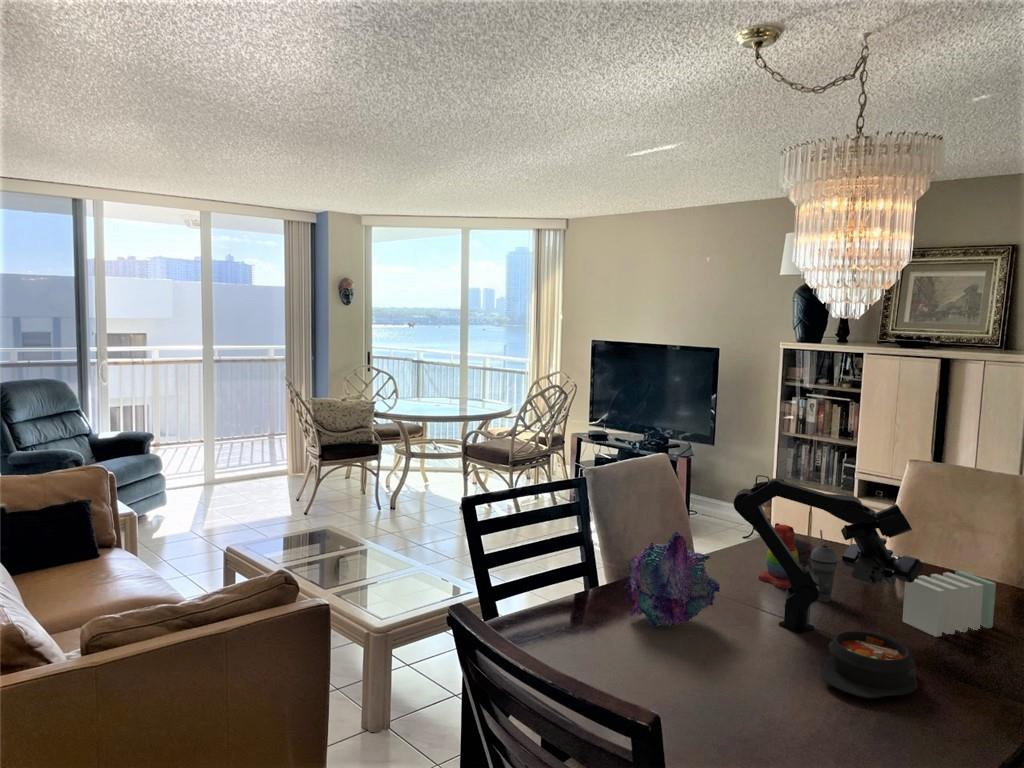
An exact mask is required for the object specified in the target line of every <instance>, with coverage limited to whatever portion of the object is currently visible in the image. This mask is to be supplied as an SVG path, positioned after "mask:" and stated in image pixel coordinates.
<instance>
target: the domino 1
mask: <svg viewBox="0 0 1024 768" xmlns="http://www.w3.org/2000/svg"><path fill="white" fill-rule="evenodd" d="M944 595H945V590H943V589H940V588H938V587H935V586H933V585H930V584H927V583H925V582H922V581H920V580H918V578H915V580H914V581H913V582H911V583H909V582H905V581H904V594H903V608H902V609H903V610H902V622H903V623H905V624H907V625H909V626H912V628H915V629H918V630H920V631H922V632H924V633H926V634H929V635H931V636H932V635H933V637H935V638H939V637H942V636H943V634H942V633H943V632H942V624H943V610H944Z"/></svg>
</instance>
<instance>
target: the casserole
mask: <svg viewBox="0 0 1024 768" xmlns="http://www.w3.org/2000/svg"><path fill="white" fill-rule="evenodd" d="M827 646H828V651H829V652H830V654H831V655H830V656H828V657H827V658H826V659H825V660H824V661H823V670H822V671H821V673H820V677H821V679H822V681H824V682H825V683H826V684H828V685H829V686H831V687H833V688H835V689H837V690H840V691H841V692H843V693H847V694H850V695H852V696H856V697H859V698H864V699H868V700H869V699H873V700H874V699H879V698H884V697H890V696H904V695H907V694H911V693H913V692H915V691H916V690H917V689H918V687H919V683H918V679H917V673H918V670H917V668H916V667H915V665H916V663H915V660H914V659H913V657H912V656H911V653H910V650H909V649H908V647H906V646H905V645H904V644H903V643H901V642H899V641H898V640H895V639H893V638H890V637H887V636H885V635H881V634H878V633H873V632H867V631H857V630H848V631H842V632H838V633H837V634H835V635H834V637H833V639H832V641H830V642H829V643H828V645H827Z"/></svg>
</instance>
